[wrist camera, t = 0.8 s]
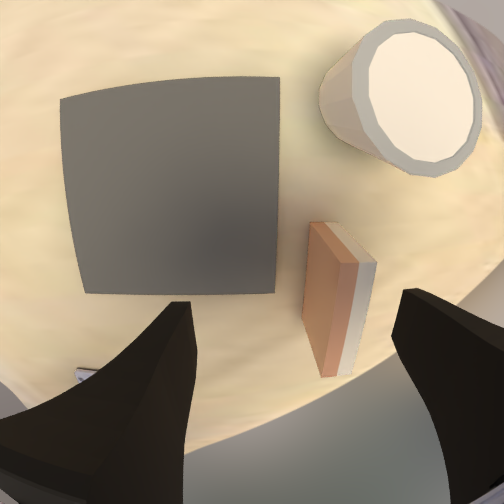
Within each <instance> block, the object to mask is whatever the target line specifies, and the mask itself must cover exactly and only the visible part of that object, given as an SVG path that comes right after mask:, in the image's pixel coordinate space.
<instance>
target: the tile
mask: <svg viewBox="0 0 504 504" xmlns="http://www.w3.org/2000/svg"><path fill="white" fill-rule="evenodd" d="M376 266H377V261H376V260H375V259H374V258H373V257H372V256H371V255H370V254H369V253H368V252H367V251H366V250H365V249H364V248H363V247H362V246H361V245H360V244H359V243H358V242H357V241H356V240H355V239H354V238H353V237H352V236H351V235H350V234H349V233H348V232H347V231H346V230H345V229H344V228H343V227H342V226H341V225H340V224H339V223H338V222H310V230H309V244H308V257H307V269H306V280H305V291H304V302H303V311H302V320H303V323H304V326H305V329H306V332H307V335H308V338H309V341H310V344H311V348H312V351H313V354H314V357H315V360H316V363H317V366H318V369H319V372H320V375H321V378H323V377H332V376H340V375H348V374H351V373H352V370H353V366H354V363H355V359H356V355H357V352H358V348H359V344H360V340H361V336H362V332H363V328H364V324H365V320H366V315H367V311H368V306H369V302H370V297H371V292H372V287H373V282H374V277H375V271H376Z"/></svg>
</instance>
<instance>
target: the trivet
mask: <svg viewBox="0 0 504 504" xmlns="http://www.w3.org/2000/svg"><path fill="white" fill-rule="evenodd" d="M279 124H280V77H246V76H240V77H204V78H188V79H175V80H165V81H156V82H147V83H140V84H133V85H126V86H120V87H114V88H109V89H103V90H98V91H93V92H89V93H84V94H80V95H75V96H71V97H67V98H63V99H60V130H61V149H62V163H63V174H64V183H65V191H66V199H67V206H68V213H69V219H70V225H71V231H72V237H73V242H74V247H75V252H76V257H77V261H78V266H79V270H80V274H81V279H82V283H83V287H84V290H85V293H91V294H134V295H224V294H268V293H275V276H276V250H277V220H278V183H279Z"/></svg>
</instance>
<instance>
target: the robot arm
mask: <svg viewBox="0 0 504 504" xmlns="http://www.w3.org/2000/svg"><path fill="white" fill-rule="evenodd" d="M391 337H392V340H393V343H394V345H395V348H396V350H397V353H398V355H399V357H400V360H401V361H402V363H403V365H404V366H405V368H406V370H407V372H408V374H409V376H410V377H411V379H412V381H413V383H414V384H415V386H416V388H417V389H418V392H419V393H420V395H421V397H422V399H423V400H424V402H425V404H426V406H427V409H428V411H429V413H430V415H431V418H432V421H433V423H434V426H435V429H436V432H437V435H438V438H439V441H440V445H441V448H442V452H443V456H444V460H445V465H446V470H447V474H448V481H449V489H450V499H451V504H504V328H502V327H500V326H497V325H495V324H492V323H490V322H488V321H486V320H484V319H482V318H479V317H477V316H475V315H473V314H471V313H469V312H467V311H465V310H463V309H461V308H459V307H457V306H455V305H453V304H451V303H449V302H447V301H445V300H443V299H441V298H439V297H437V296H435V295H433V294H431V293H429V292H426V291H424V290H421V289H418V288H414V289H404V290H403V293H402V297H401V301H400V305H399V309H398V313H397V317H396V321H395V324H394V328H393V331H392V335H391ZM196 368H197V345H196V338H195V332H194V325H193V317H192V310H191V302H190V301H189V302H171V303H170V304H169V305H168V306H167V307H166V308H165V309H164V310H163V311H162V312H161V313H160V314H159V315H158V316H157V318H156V319H155V320H154V321H153V322H152V323H151V324H150V325H149V326H148V327H147V328H146V329H145V330H144V331H143V332H142V333H141V334H140V335H139V336H138V337H137V338H136V339H135V340H134V341H133V342H132V343H131V344H130V345H129V346H128V347H126V348H125V349H124V350H123V351H122V352H121V353H120V354H119V355H118V356H116V357H115V358H114V359H113V360H112V361H110V362H109V363H108V364H107V365H105V366H104V367H103V368H101V369H100V370H99V371H91V370H83V369H76V371H75V376H76V378H77V380H78V382H79V384H77V385H76V386H74V387H72V388H71V389H69V390H68V391H66V392H64V393H62V394H60V395H58V396H57V397H55V398H53V399H51V400H49V401H47V402H44V403H42V404H40V405H38V406H36V407H33V408H31V409H29V410H26V411H23V412H21V413H18V414H15V415H12V416H9V417H6V418H3V419H0V489H1V490H3V491H4V492H5V493H6V494H8V495H9V496H10V497H11V498H13V499H14V500H15V501H17V502H18V503H19V504H183V462H184V460H183V459H184V443H185V435H186V429H187V423H188V418H189V412H190V407H191V401H192V396H193V390H194V385H195V379H196ZM0 504H4V503H2V502H0Z"/></svg>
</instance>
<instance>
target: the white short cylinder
mask: <svg viewBox="0 0 504 504" xmlns="http://www.w3.org/2000/svg"><path fill="white" fill-rule="evenodd" d="M319 108H320V111H321V114H322V116H323V119H324V122H325V124H326V125H327V126H328V128H329V129H330V130H331V131H332V132H333V133H334V135H335V136H336V137H337V138H338V139H340V140H342V141H344V142H346V143H348V144H350V145H351V146H353V147H355V148H358V149H360V150H362V151H364V152H366V153H368V154H370V155H372V156H375V157H377V158H379V159H381V160H383V161H385V162H387V163H389V164H391V165H393V166H395V167H397V168H399V169H400V170H402V171H404V172H406V173H408V174H410V175H418V176H426V177H433V178H436V177H438V176H441V175H444V174H446V173H449V172H451V171H454V170H457V169H458V168H459V167H460V166H461V164H462V163H463V162H464V161H465V160H466V159H467V158H468V157H469V156H470V154H471V153H472V152H473V150H474V148H475V145H476V142H477V139H478V137H479V134H480V131H481V128H482V97H481V93H480V90H479V86H478V83H477V79H476V76H475V73H474V71H473V69H472V67H471V66H470V64H469V62H468V61H467V59H466V58H465V56H464V55H463V53H462V51H461V50H460V48H459V47H458V46H457V45H456V44H455V43H454V42H452V41H451V40H450V39H449V38H448V37H447V36H445V35H444V34H443V33H442V32H441V31H439V30H438V29H437V28H435V27H432V26H430V25H427V24H425V23H422V22H419V21H416V20H413V19H399V20H389V21H384V22H383V23H381V24H380V25H379V26H377V27H376V28H374V29H373V30H372V31H370V32H369V33H368V34H366V35H365V36H364V37H363V38H362V39H360V40H359V41H358V42H357V43H356V44H355V45H354V46H353V47H352V48H351V49H350V50H349V51H348V52H347V53H346V54H345V55H344V56H343V57H342V58H341V59H340V60H339V61H338V62H337V63H336V64H335V65H334V66H333V67H332V68H331V69H330V70H329V71H328V72H327V73H326V75H325V77H324V79H323V81H322V83H321V86H320V88H319Z"/></svg>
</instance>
